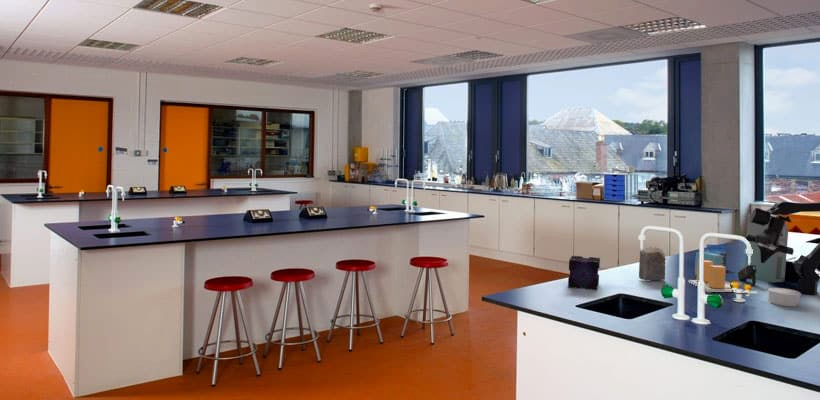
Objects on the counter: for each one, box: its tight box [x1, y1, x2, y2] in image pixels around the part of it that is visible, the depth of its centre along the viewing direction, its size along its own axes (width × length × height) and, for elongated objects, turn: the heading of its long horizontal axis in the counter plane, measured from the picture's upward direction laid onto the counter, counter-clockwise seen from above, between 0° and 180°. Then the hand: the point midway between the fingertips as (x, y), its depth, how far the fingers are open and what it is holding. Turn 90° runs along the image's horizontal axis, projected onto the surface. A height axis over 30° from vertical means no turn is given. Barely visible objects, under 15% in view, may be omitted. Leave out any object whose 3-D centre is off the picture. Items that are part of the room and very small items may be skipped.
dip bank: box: [687, 279, 732, 293], centre depth 273 cm, size 17×19×1 cm
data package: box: [694, 251, 723, 276], centre depth 293 cm, size 12×4×12 cm, turn 20°
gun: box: [737, 265, 757, 287], centre depth 285 cm, size 3×16×10 cm, turn 175°
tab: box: [695, 260, 713, 282], centre depth 278 cm, size 5×4×9 cm
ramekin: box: [767, 287, 802, 307], centre depth 246 cm, size 11×11×5 cm
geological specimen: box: [638, 246, 667, 282], centre depth 285 cm, size 11×6×15 cm, turn 109°
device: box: [743, 213, 789, 283], centre depth 294 cm, size 16×8×30 cm, turn 16°
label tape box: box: [705, 244, 727, 268], centre depth 318 cm, size 9×4×12 cm, turn 81°
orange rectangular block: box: [708, 265, 727, 288], centre depth 266 cm, size 5×4×9 cm
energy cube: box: [567, 255, 601, 291], centre depth 270 cm, size 12×12×12 cm
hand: (762, 263), depth 270 cm, fingers closed
